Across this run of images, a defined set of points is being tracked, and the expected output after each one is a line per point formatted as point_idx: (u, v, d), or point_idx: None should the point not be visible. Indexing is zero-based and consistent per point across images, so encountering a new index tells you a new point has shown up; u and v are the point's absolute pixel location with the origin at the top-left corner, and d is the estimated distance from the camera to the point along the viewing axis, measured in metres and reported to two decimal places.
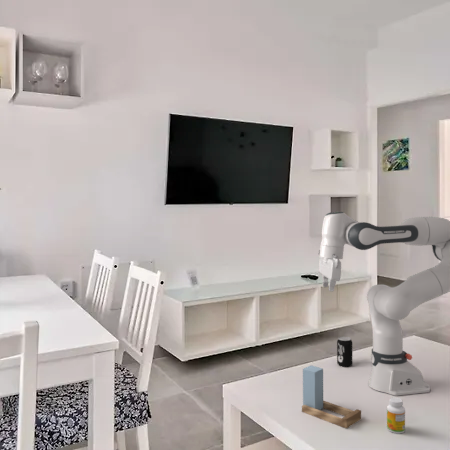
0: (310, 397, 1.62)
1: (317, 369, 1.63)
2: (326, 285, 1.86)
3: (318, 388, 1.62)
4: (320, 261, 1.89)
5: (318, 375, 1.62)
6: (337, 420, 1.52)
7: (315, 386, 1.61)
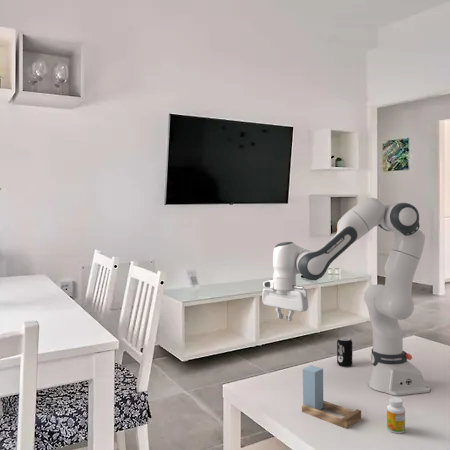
0: (310, 397, 1.62)
1: (317, 369, 1.63)
2: (282, 317, 1.83)
3: (318, 388, 1.62)
4: (265, 293, 1.86)
5: (318, 375, 1.62)
6: (337, 420, 1.52)
7: (315, 386, 1.61)
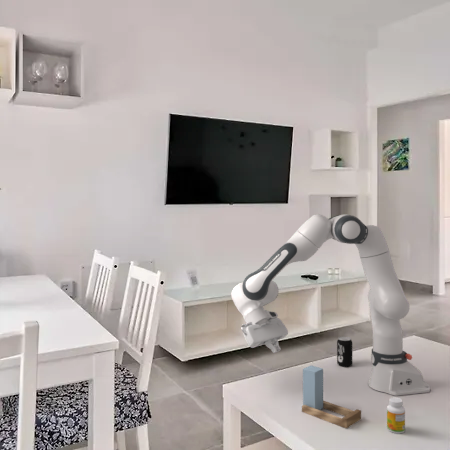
0: (310, 397, 1.62)
1: (317, 369, 1.63)
2: None
3: (318, 388, 1.62)
4: None
5: (318, 375, 1.62)
6: (337, 420, 1.52)
7: (315, 386, 1.61)
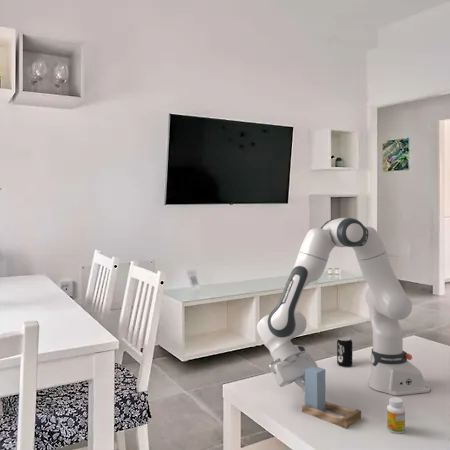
0: (312, 398, 1.62)
1: (319, 370, 1.62)
2: None
3: (320, 388, 1.62)
4: None
5: (320, 376, 1.62)
6: (337, 420, 1.52)
7: (317, 387, 1.60)
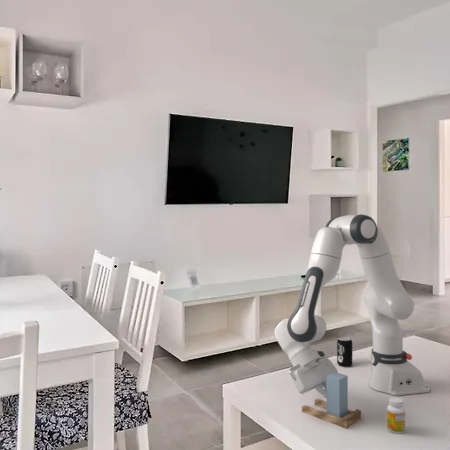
0: (334, 406, 1.55)
1: (341, 376, 1.56)
2: None
3: (342, 396, 1.55)
4: None
5: (343, 383, 1.55)
6: (337, 420, 1.52)
7: (340, 394, 1.54)
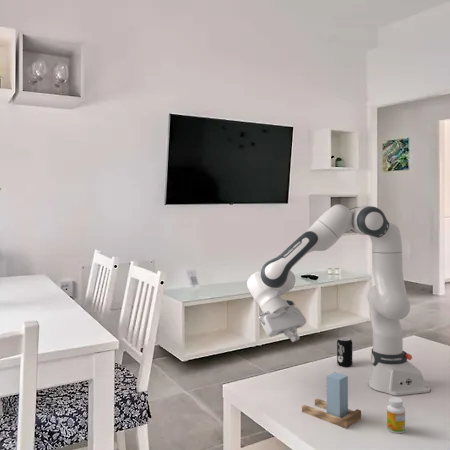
0: (334, 406, 1.55)
1: (342, 376, 1.56)
2: None
3: (343, 396, 1.55)
4: None
5: (343, 383, 1.55)
6: (337, 420, 1.52)
7: (340, 394, 1.54)
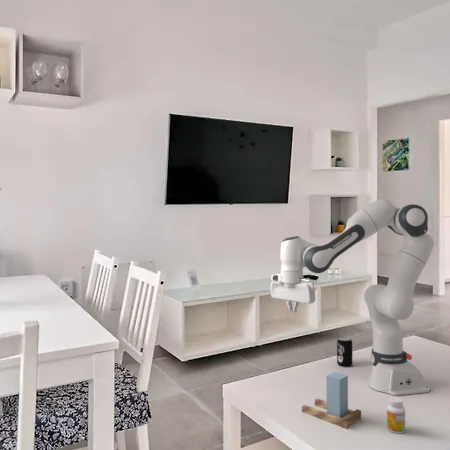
0: (334, 406, 1.55)
1: (342, 376, 1.56)
2: None
3: (343, 396, 1.55)
4: (273, 286, 1.92)
5: (343, 383, 1.55)
6: (337, 420, 1.52)
7: (340, 394, 1.54)
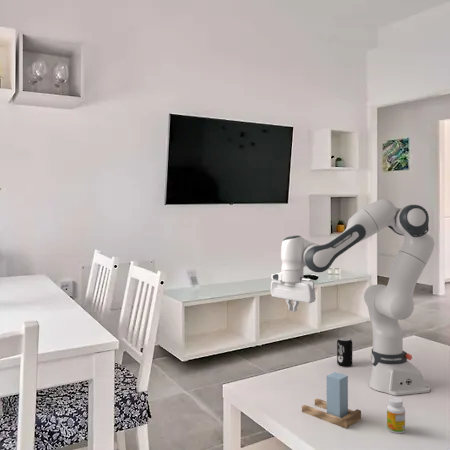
0: (334, 406, 1.55)
1: (342, 376, 1.56)
2: None
3: (343, 396, 1.55)
4: (273, 285, 1.92)
5: (343, 383, 1.55)
6: (337, 420, 1.52)
7: (340, 394, 1.54)
